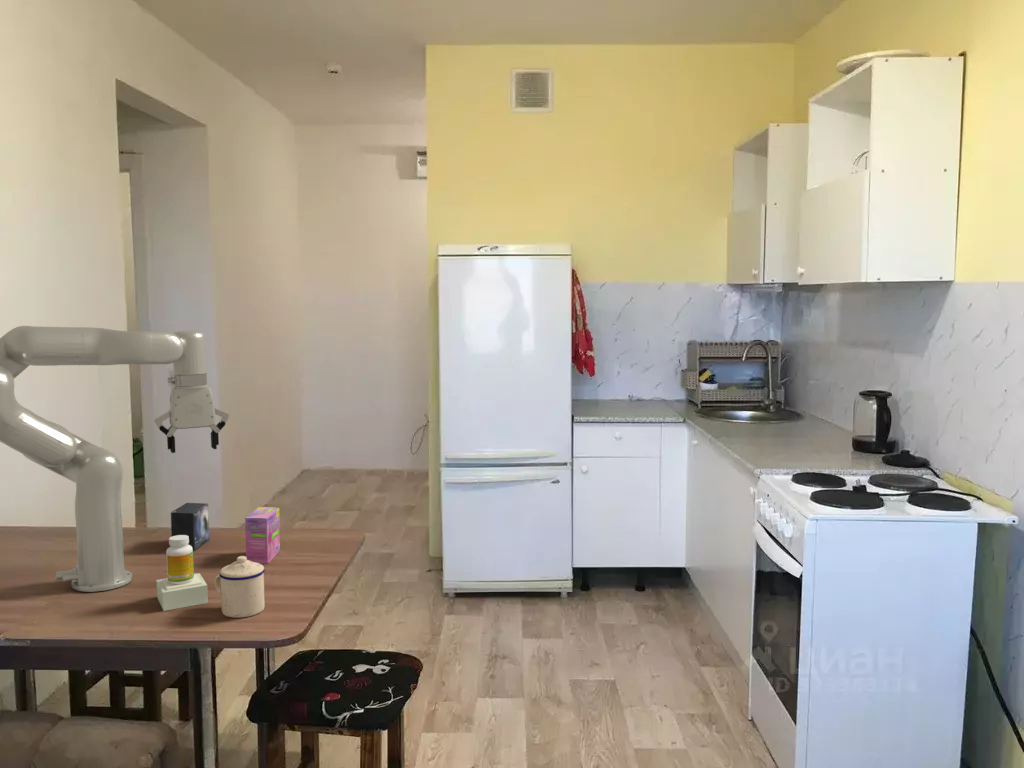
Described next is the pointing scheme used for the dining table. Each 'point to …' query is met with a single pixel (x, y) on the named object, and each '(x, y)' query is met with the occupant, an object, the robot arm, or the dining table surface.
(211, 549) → the dining table surface
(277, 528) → the box
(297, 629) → the dining table surface
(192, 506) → the small box
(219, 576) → the teacup with lid
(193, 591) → the pedestal
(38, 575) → the dining table surface
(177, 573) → the supplement bottle
